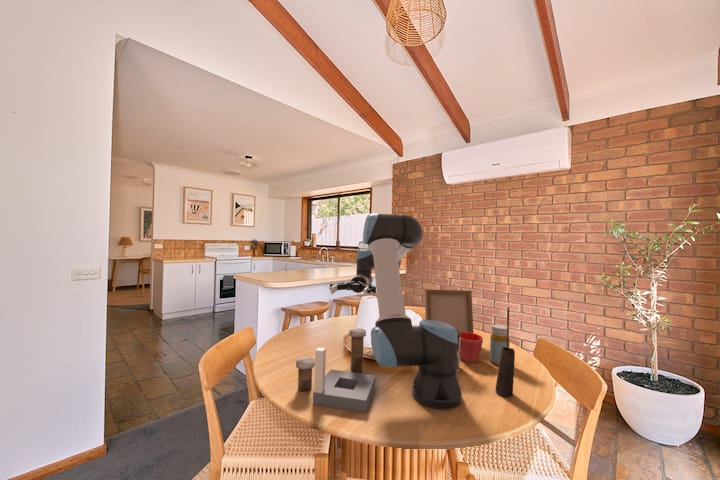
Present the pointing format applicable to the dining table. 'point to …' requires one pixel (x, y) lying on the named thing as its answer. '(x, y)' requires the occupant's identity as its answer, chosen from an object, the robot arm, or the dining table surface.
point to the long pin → (357, 349)
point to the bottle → (497, 342)
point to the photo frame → (450, 308)
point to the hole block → (341, 387)
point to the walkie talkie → (506, 368)
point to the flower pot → (470, 347)
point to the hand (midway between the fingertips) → (347, 291)
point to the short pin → (305, 373)
